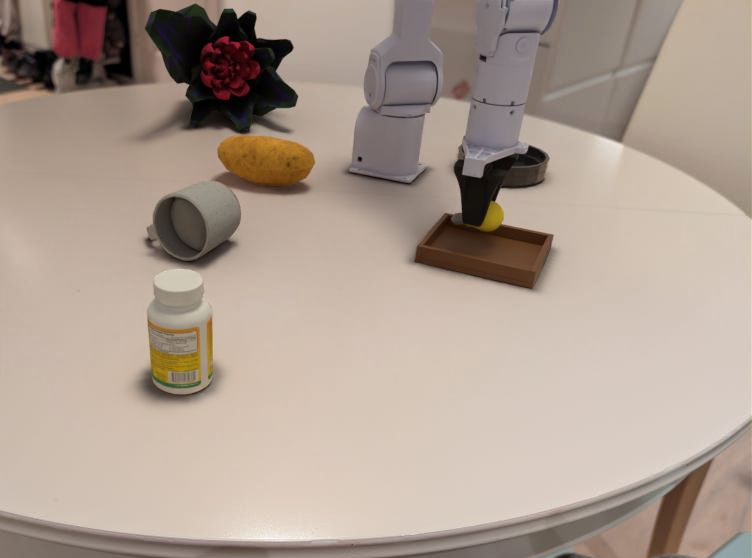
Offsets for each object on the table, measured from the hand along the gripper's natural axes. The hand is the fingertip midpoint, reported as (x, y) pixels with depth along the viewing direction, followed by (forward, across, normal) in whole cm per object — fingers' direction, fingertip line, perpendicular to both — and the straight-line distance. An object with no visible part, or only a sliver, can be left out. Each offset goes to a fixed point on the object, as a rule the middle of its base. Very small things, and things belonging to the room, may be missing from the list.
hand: (476, 218), depth 87 cm
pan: (+3, +28, +3) cm, 28 cm away
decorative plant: (+4, +29, +50) cm, 58 cm away
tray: (+3, -2, -2) cm, 4 cm away
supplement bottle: (+4, -40, +15) cm, 43 cm away
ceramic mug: (+4, -17, +29) cm, 34 cm away
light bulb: (+1, 0, 0) cm, 1 cm away
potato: (+4, +6, +31) cm, 32 cm away
